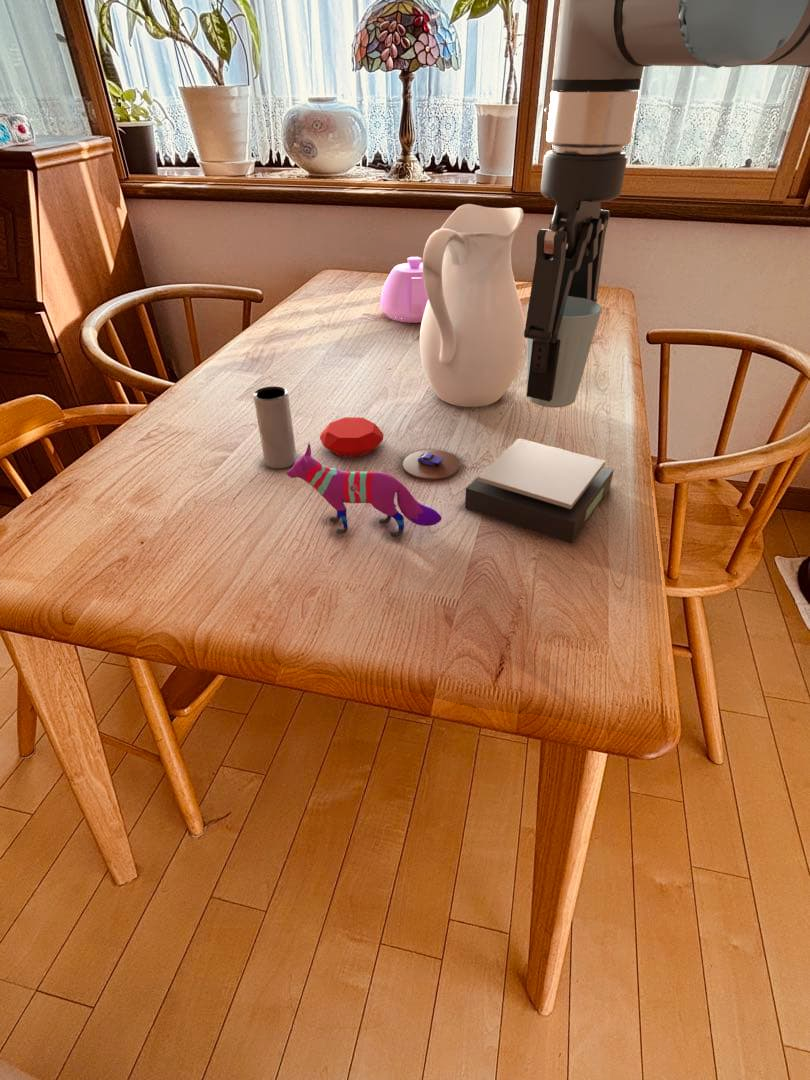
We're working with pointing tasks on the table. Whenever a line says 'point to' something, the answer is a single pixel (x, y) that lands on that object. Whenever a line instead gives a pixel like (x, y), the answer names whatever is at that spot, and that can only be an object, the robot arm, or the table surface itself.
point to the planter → (275, 426)
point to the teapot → (405, 292)
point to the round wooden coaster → (431, 465)
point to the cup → (570, 350)
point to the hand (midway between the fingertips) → (553, 384)
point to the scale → (541, 489)
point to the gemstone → (351, 437)
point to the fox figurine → (362, 493)
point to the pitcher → (472, 307)
